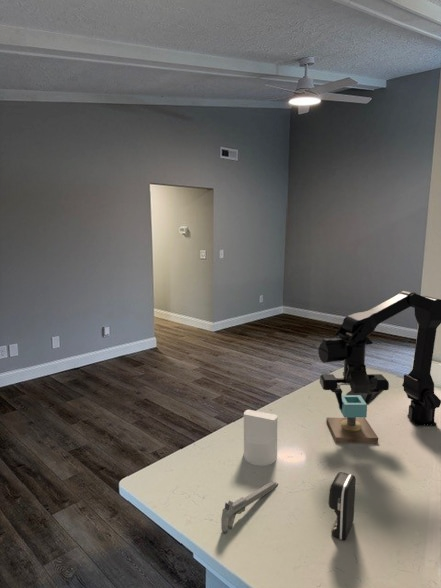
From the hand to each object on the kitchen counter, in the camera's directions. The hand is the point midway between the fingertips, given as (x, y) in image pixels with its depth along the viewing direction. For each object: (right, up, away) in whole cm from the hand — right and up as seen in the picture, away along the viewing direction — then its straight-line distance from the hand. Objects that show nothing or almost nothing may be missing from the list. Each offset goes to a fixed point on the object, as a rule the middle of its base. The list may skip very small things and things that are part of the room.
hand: (352, 409), depth 120 cm
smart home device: (+15, -3, +30) cm, 33 cm away
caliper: (-32, -14, -30) cm, 46 cm away
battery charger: (-14, -14, -37) cm, 42 cm away
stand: (0, -7, +1) cm, 7 cm away
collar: (0, -1, 0) cm, 1 cm away
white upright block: (-28, -10, -10) cm, 32 cm away
